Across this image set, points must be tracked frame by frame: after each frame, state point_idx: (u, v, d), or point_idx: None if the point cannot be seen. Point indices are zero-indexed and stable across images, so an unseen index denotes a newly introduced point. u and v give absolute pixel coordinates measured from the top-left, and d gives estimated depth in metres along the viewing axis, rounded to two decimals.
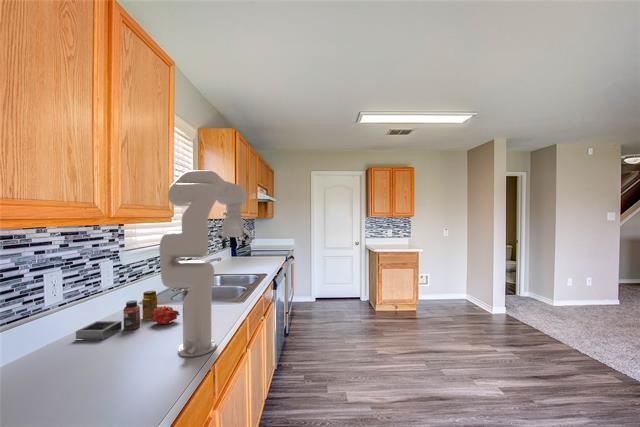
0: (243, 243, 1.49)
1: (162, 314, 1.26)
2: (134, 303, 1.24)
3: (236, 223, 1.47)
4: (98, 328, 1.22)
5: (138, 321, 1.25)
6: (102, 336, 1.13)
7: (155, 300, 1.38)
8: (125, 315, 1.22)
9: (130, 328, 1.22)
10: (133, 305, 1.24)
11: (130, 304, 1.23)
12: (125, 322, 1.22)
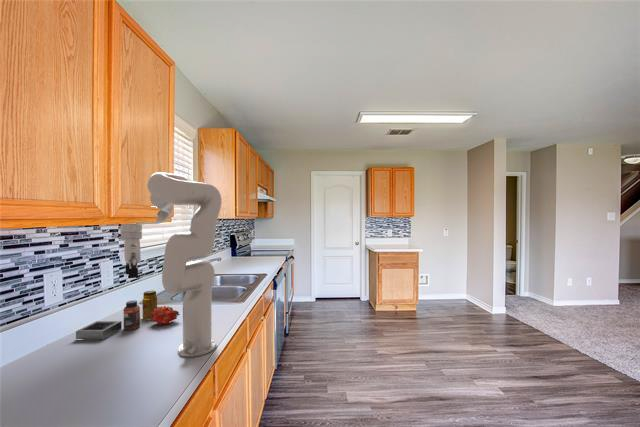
0: None
1: (162, 314, 1.26)
2: (134, 303, 1.24)
3: None
4: (98, 328, 1.22)
5: (138, 321, 1.25)
6: (102, 336, 1.13)
7: (155, 300, 1.38)
8: (125, 315, 1.22)
9: (130, 328, 1.22)
10: (133, 305, 1.24)
11: (130, 304, 1.23)
12: (125, 322, 1.22)
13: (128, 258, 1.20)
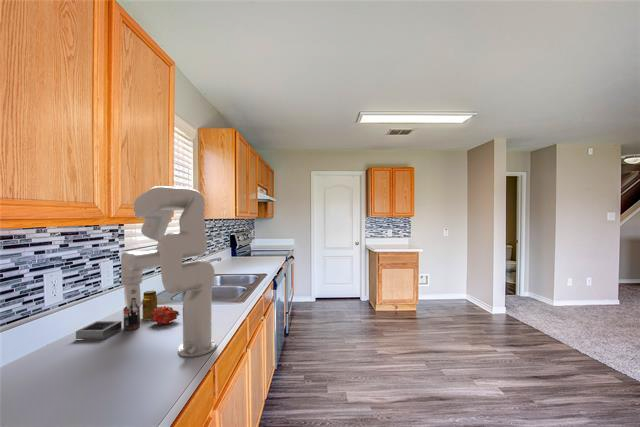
0: None
1: (162, 314, 1.26)
2: None
3: None
4: (98, 328, 1.22)
5: (138, 321, 1.25)
6: (102, 336, 1.13)
7: (155, 300, 1.38)
8: (125, 315, 1.22)
9: (130, 328, 1.22)
10: None
11: None
12: (125, 322, 1.22)
13: (128, 304, 1.20)
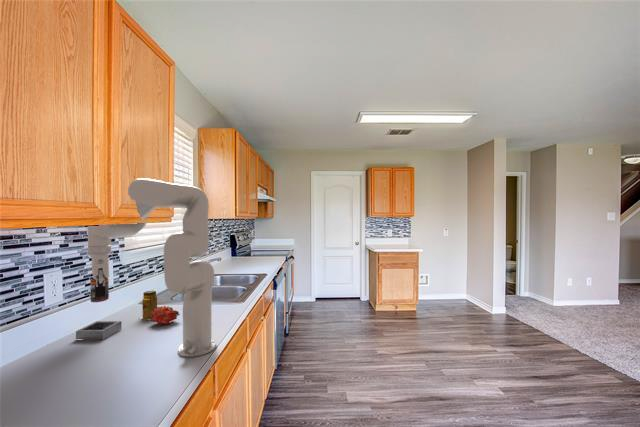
0: None
1: (162, 314, 1.26)
2: None
3: None
4: (98, 328, 1.22)
5: (106, 293, 1.18)
6: (102, 336, 1.13)
7: (155, 300, 1.38)
8: (92, 286, 1.15)
9: (97, 300, 1.15)
10: None
11: None
12: (92, 294, 1.15)
13: (95, 274, 1.13)
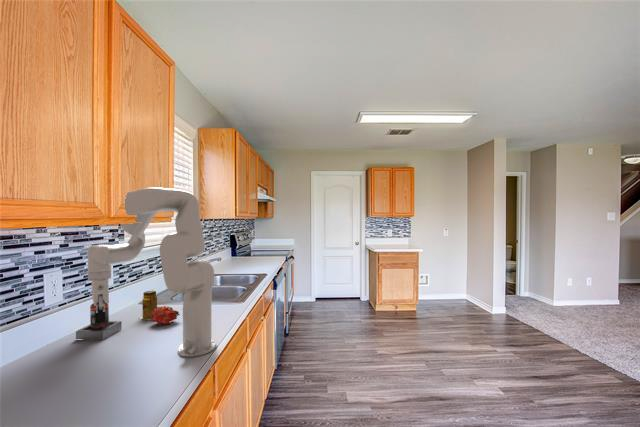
0: None
1: (162, 314, 1.26)
2: None
3: None
4: (98, 328, 1.22)
5: (106, 319, 1.18)
6: (102, 336, 1.13)
7: (155, 300, 1.38)
8: (92, 312, 1.15)
9: (97, 326, 1.15)
10: None
11: None
12: (92, 320, 1.15)
13: (95, 300, 1.13)
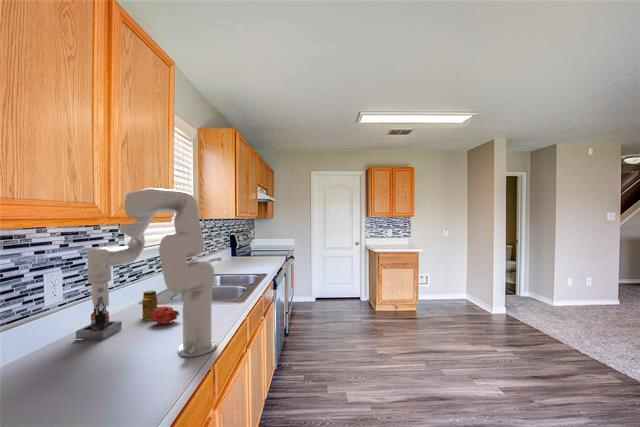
0: None
1: (162, 314, 1.26)
2: None
3: None
4: None
5: None
6: (102, 336, 1.13)
7: (155, 300, 1.38)
8: (92, 321, 1.15)
9: None
10: None
11: None
12: (92, 329, 1.15)
13: (95, 303, 1.13)
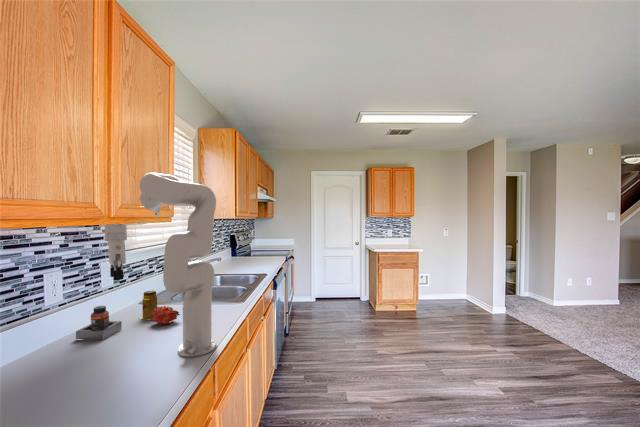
0: None
1: (162, 314, 1.26)
2: (102, 309, 1.17)
3: None
4: None
5: None
6: (102, 336, 1.13)
7: (155, 300, 1.38)
8: (92, 321, 1.15)
9: None
10: (101, 311, 1.16)
11: (98, 310, 1.16)
12: (92, 329, 1.15)
13: (112, 260, 1.17)
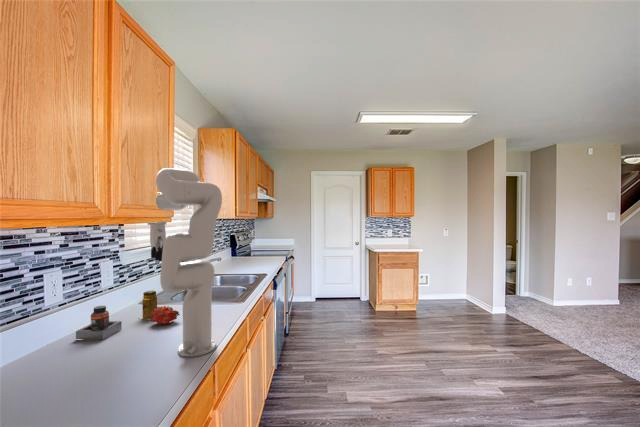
0: None
1: (162, 314, 1.26)
2: (102, 308, 1.17)
3: None
4: None
5: None
6: (102, 336, 1.13)
7: (155, 300, 1.38)
8: (92, 321, 1.15)
9: None
10: (101, 311, 1.16)
11: (98, 310, 1.16)
12: (92, 329, 1.15)
13: (155, 241, 1.28)
